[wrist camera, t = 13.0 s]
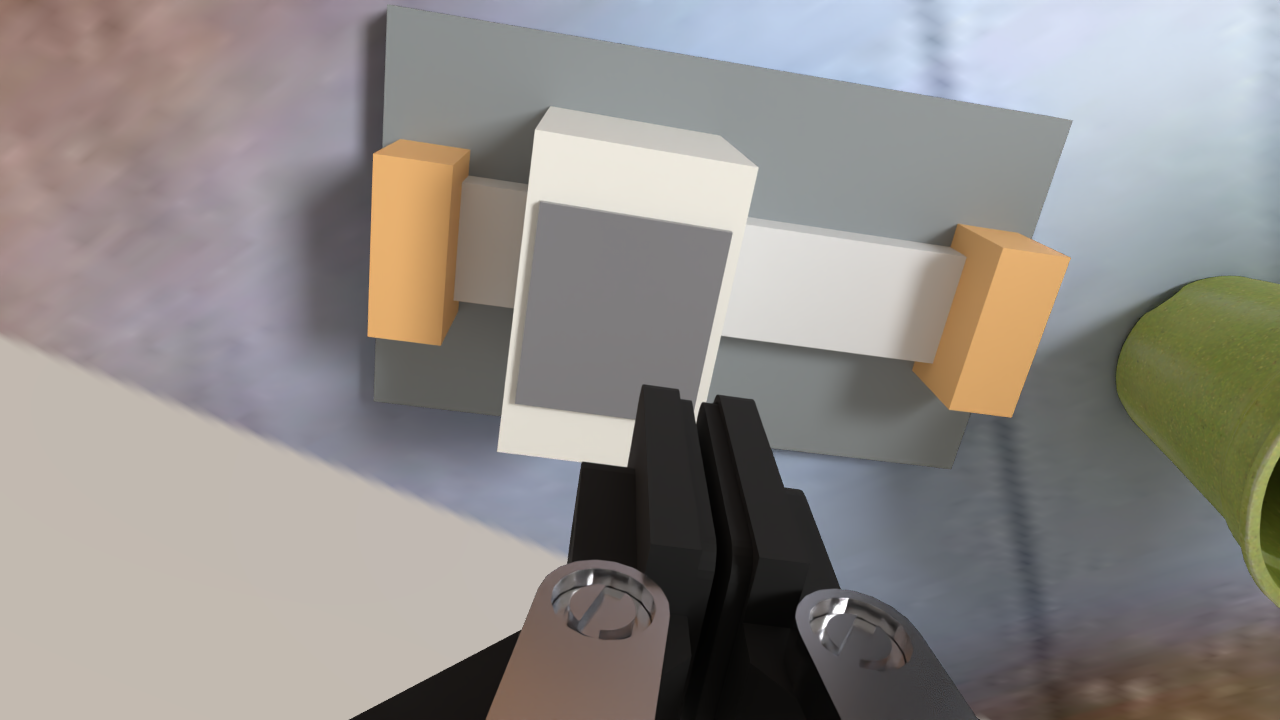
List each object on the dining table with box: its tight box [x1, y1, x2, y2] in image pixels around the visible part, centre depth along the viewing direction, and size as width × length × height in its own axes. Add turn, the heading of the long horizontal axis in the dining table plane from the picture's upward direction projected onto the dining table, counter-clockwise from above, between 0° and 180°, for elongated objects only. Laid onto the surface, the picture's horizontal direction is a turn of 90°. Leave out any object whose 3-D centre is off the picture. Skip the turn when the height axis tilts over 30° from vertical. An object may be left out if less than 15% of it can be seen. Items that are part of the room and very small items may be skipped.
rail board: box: [368, 5, 1073, 469], centre depth 24 cm, size 20×12×4 cm, turn 81°
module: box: [497, 106, 759, 467], centre depth 22 cm, size 5×8×6 cm, turn 170°
